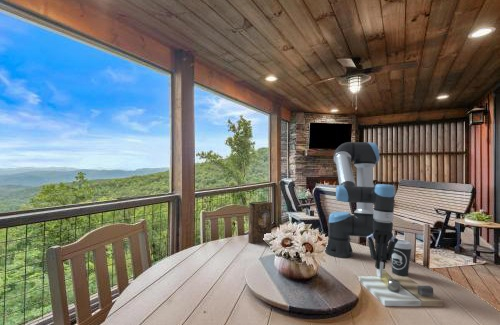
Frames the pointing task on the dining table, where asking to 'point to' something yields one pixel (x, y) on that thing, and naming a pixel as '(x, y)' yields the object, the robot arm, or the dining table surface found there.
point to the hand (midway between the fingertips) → (379, 276)
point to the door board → (401, 292)
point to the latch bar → (390, 282)
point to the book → (259, 221)
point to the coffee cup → (401, 257)
